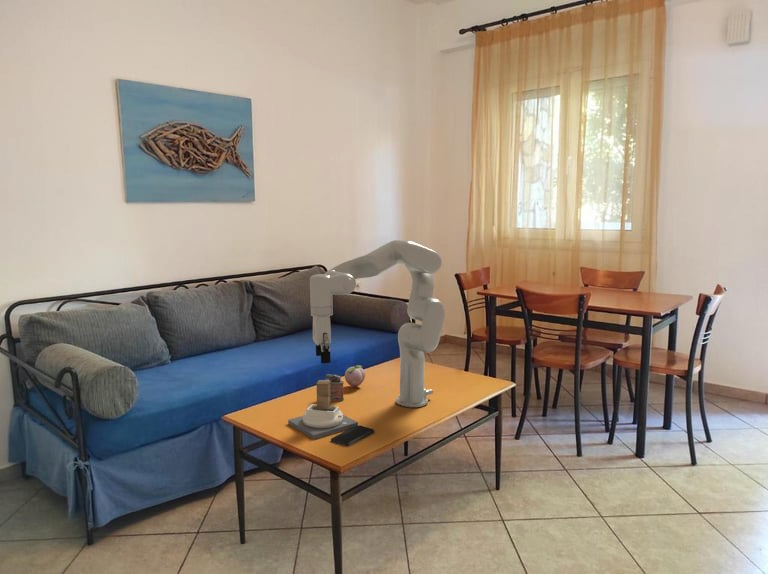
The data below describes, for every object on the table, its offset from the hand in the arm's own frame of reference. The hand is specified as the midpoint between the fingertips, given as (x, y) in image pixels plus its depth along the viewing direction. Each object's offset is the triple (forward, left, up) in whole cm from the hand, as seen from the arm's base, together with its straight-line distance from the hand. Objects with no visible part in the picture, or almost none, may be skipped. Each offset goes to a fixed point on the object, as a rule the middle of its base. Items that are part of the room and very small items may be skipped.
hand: (323, 359), depth 190 cm
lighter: (-18, -20, -24) cm, 36 cm away
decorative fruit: (-33, -27, -24) cm, 49 cm away
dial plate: (0, 0, -24) cm, 24 cm away
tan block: (0, 0, -20) cm, 20 cm away
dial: (0, 0, -22) cm, 22 cm away
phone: (-2, +14, -24) cm, 28 cm away
